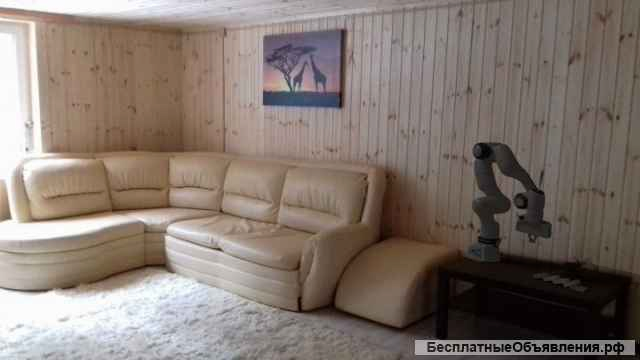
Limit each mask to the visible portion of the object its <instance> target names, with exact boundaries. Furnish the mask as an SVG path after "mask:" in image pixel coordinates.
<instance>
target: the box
mask: <svg viewBox="0 0 640 360" xmlns="http://www.w3.org/2000/svg"><path fill="white" fill-rule="evenodd" d="M580 271H581V264H580V263H577V262H576V261H575V262H574V261H564V264H563V275H564V276H566V277H567V278H569V279H572V278H580Z"/></svg>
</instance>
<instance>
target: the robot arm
mask: <svg viewBox="0 0 640 360" xmlns="http://www.w3.org/2000/svg"><path fill="white" fill-rule="evenodd" d="M472 156H473V157H474V158H475V160H474V162H473V169H474V175H475V176H474V177H475V181H476V184H477V188H478V190H479V191H480V192H482V193H483V194H484V195H485V196H480V197H476V198H474V200H473V201H472V205H471V206H472V207H471V208H472V211H473V212H474V213H475V214H476V216H478V219H479V222H480V235H479V236H477V237H476V239H477V240H476V241H475V242H474V243H472V244H471V245H469V246H468V248H467V252H465V253H463V257H465V258H468V259H471V260H473V261H476V262H479V263H498V262H501V261H502V259H501V256H500V255H501V253H500V244H501V237H500V232H501V224H500V223H499V222H498V221H497V220H496V219H495V215H501V214H505V213H509V211H510V210H511V207H512V201H511V199H510V198H509V197H507V196H506V195H505V194H504V193H503V192H502V191H501V189H500V188H499V186H498V183H497V180H496V177H495V172H494V169H493V168H494V167H493V163H494V164H496V165H497V168H498V169H499V172H500V173H501V174H502V175H504V176H505V177H507V178H512V179H514V180H517V181H519V183H520V184H521V185H522V186H523V188H524V189H525V191H524V192H517V193H516V194H515V195H514V198H513V205H514V206H515V207H516V209H518V210H526V213H523V214H520V215H517V220H516V224H515V230H516V231H517V232H519V233H524V234H527V238H528V242H529V243H532V244H535V243H536V242H537V239H538V237H539V238H542V239H547V240H548V239H551V238H552V236H553V235H552V228H553V224H552V223H551V222H550V221H548V220H547V221H546V220H544V216H545V215H544V214H545V213H544V210H545V208H546V207H545V205H546V194H545V191H543V190H541V189H540V188H538V187H537V185H536V184H535V182H534V181H533V179H532V178H531V176H530V174H529V173H528V171H527V170H526V169H525V168H524V167H523V166H522V165H521V164H520V163H519V161H518V160H517V158H516V156H515V154H514V152H513V150H512V149H511V147H509V145H507V144H506V143H501V142H495V141H487V142H477V143H476V144H474V145H473V148H472ZM532 236H533V238H532Z"/></svg>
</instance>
